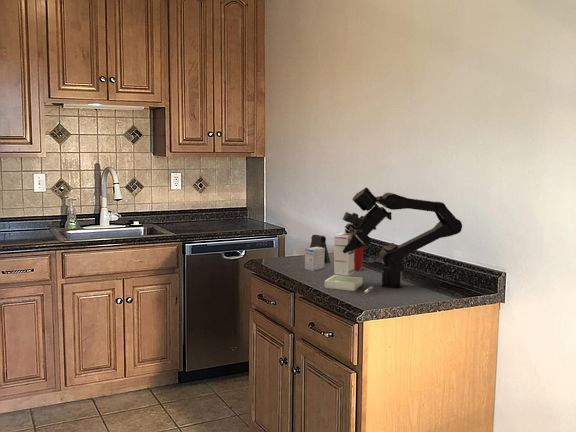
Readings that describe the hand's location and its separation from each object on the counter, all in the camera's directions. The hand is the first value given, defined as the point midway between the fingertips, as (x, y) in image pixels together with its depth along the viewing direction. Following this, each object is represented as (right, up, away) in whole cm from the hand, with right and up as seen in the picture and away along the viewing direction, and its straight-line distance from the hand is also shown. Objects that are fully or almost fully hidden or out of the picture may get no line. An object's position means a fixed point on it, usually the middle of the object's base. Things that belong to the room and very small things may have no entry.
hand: (341, 250), depth 233 cm
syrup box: (+1, -9, +1) cm, 9 cm away
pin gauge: (+10, -14, -5) cm, 17 cm away
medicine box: (-8, -10, +32) cm, 34 cm away
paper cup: (+8, -10, +33) cm, 35 cm away
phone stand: (-6, -8, +45) cm, 46 cm away
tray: (+1, -13, +2) cm, 13 cm away
